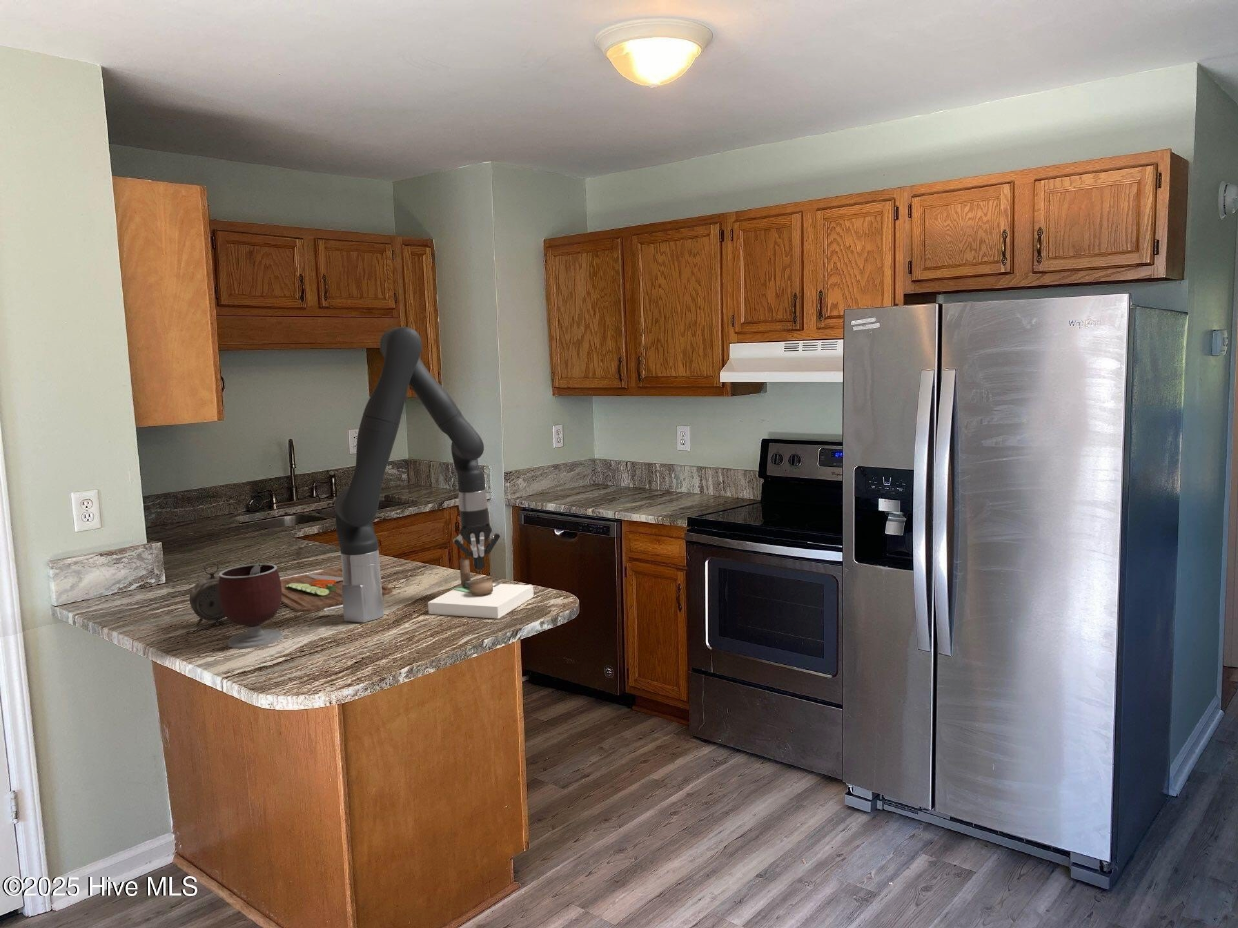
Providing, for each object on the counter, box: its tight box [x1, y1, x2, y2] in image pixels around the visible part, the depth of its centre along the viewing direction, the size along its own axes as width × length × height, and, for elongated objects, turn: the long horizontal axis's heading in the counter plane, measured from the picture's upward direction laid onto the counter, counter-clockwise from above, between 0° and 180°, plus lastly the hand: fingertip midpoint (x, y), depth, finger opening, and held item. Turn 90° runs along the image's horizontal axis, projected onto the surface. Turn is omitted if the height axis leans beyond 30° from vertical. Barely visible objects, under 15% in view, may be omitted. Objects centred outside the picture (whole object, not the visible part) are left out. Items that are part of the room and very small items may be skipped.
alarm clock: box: [189, 561, 227, 627], centre depth 231 cm, size 11×5×16 cm, turn 123°
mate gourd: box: [218, 563, 284, 649], centre depth 215 cm, size 16×14×20 cm
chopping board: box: [280, 567, 393, 613], centre depth 261 cm, size 45×27×3 cm, turn 38°
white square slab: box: [427, 582, 534, 619], centre depth 237 cm, size 20×20×3 cm
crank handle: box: [458, 557, 493, 595], centre depth 239 cm, size 13×6×7 cm, turn 36°
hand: (479, 569), depth 245 cm, fingers closed
